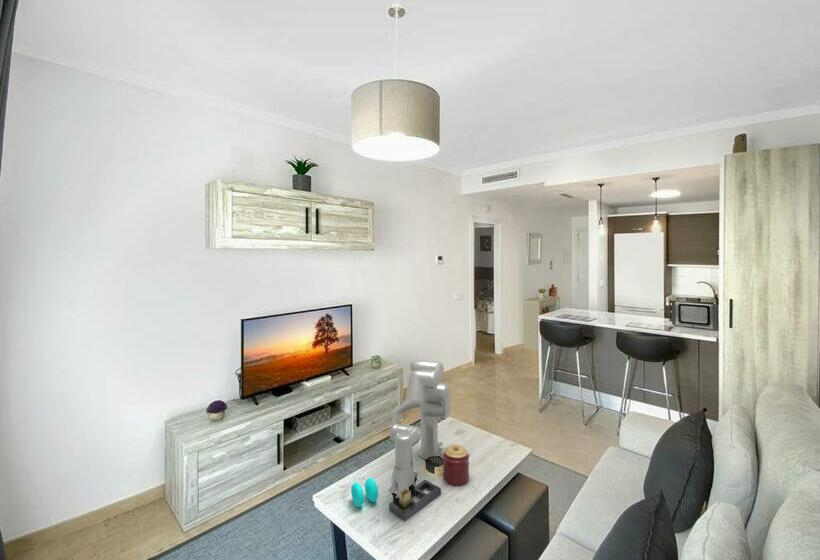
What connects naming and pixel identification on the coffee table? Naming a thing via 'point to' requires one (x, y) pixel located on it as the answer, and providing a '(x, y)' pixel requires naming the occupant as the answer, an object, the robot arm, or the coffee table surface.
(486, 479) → the coffee table surface
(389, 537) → the coffee table surface
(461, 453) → the canister
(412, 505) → the grey flat slotted block
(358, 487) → the donuts
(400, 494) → the brass peg
